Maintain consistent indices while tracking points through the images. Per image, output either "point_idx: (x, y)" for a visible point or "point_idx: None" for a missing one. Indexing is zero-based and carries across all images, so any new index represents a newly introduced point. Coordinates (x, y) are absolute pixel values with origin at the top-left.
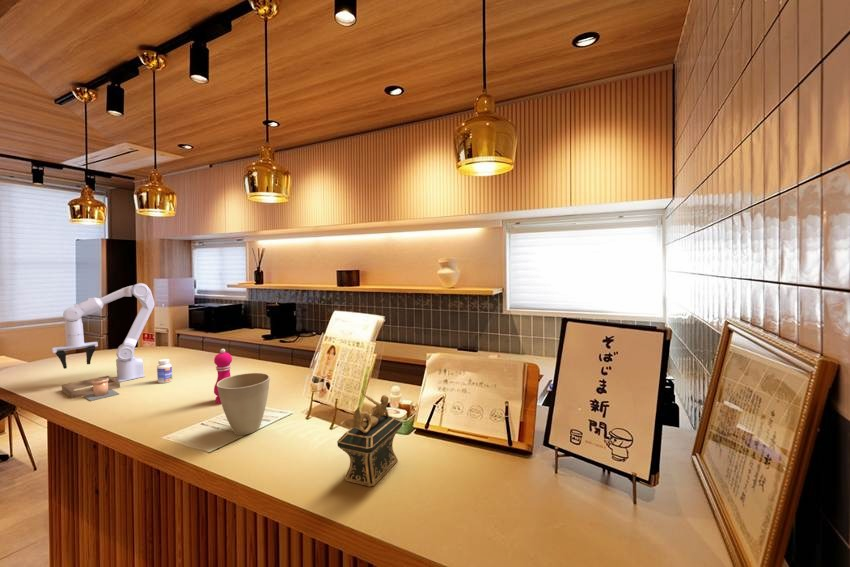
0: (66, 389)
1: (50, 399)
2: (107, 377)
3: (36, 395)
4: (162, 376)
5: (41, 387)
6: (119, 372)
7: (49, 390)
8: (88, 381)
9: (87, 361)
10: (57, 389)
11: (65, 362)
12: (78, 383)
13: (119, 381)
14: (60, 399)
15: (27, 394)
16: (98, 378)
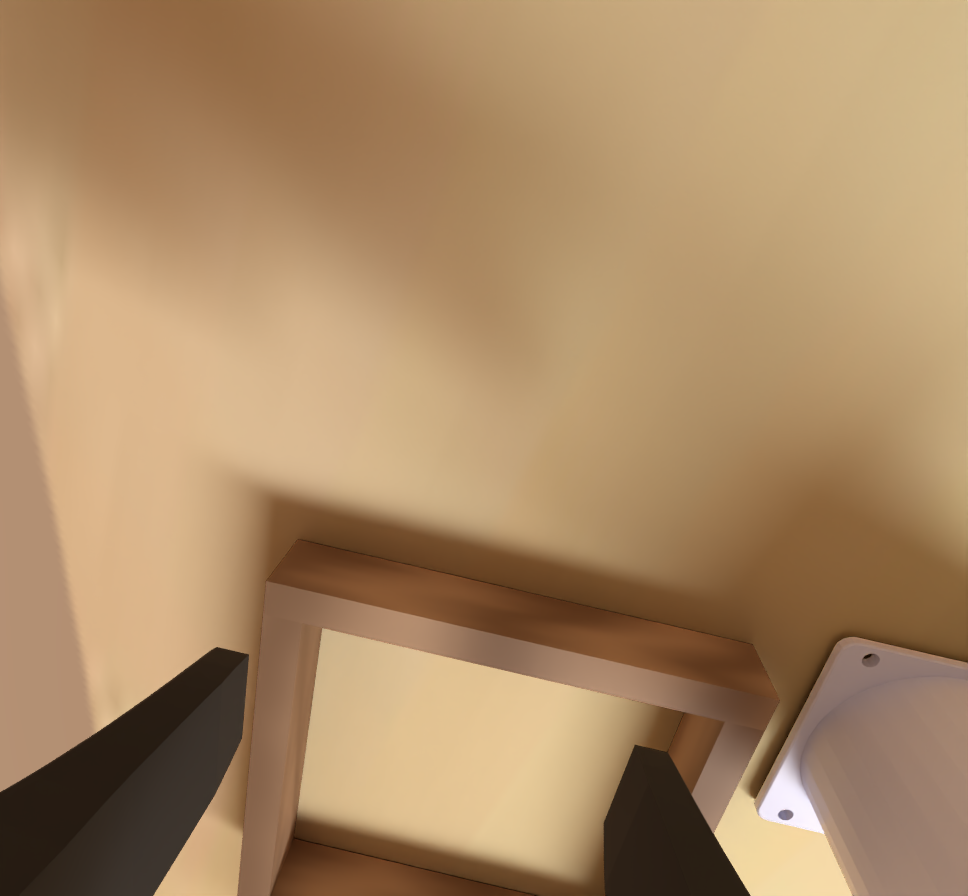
0: (252, 763)
1: None
2: (711, 768)
3: (84, 437)
4: None
5: (202, 8)
6: (844, 869)
7: (225, 349)
8: (533, 667)
9: (626, 852)
10: (295, 403)
11: (141, 891)
12: (430, 641)
13: (755, 804)
14: None
15: (17, 269)
16: (645, 699)
